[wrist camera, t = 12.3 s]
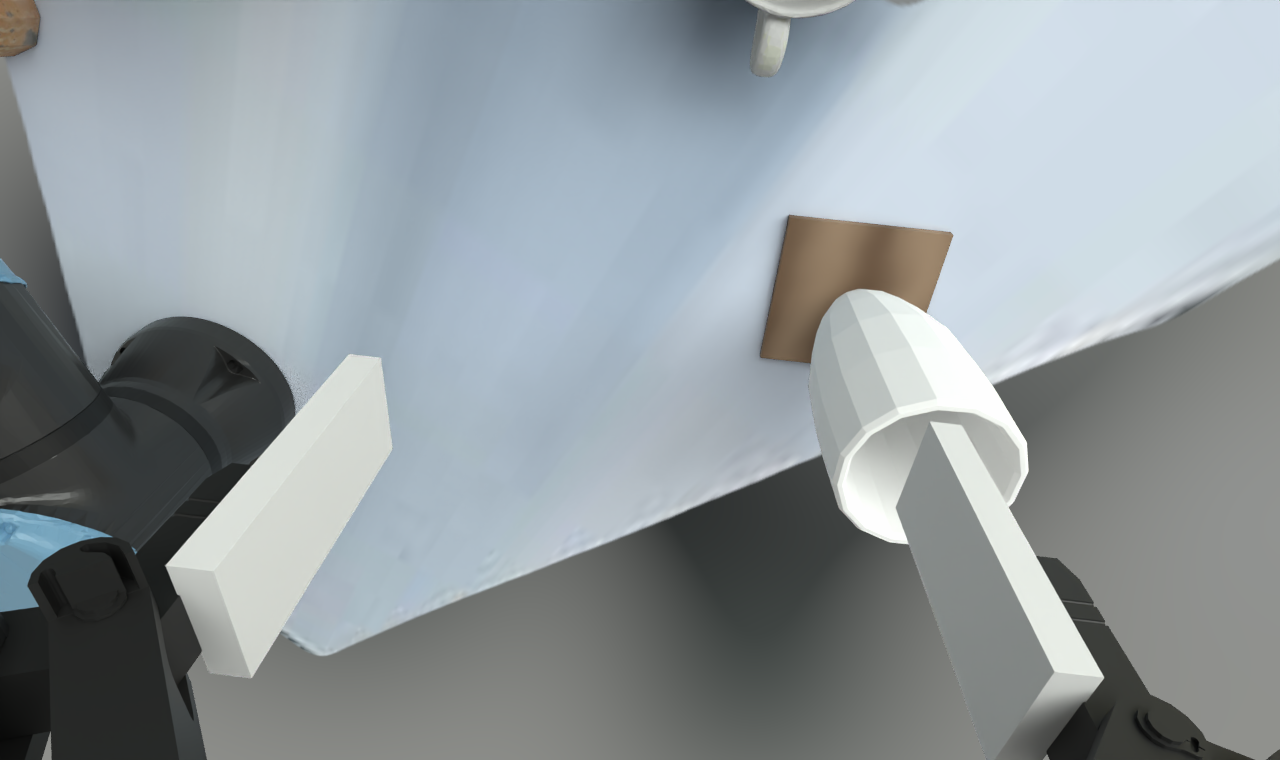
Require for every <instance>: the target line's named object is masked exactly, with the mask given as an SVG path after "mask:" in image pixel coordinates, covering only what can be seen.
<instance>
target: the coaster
mask: <svg viewBox="0 0 1280 760" xmlns="http://www.w3.org/2000/svg"><path fill="white" fill-rule="evenodd" d="M952 237H953V234H952V233H951V232H943V231H934V230H924V229H915V228H906V227H896V226H887V225H878V224H868V223H859V222H850V221H840V220H831V219H822V218H812V217H803V216H794V215H789V218H788V223H787V228H786V232H785V237H784V242H783V247H782V252H781V256H780V261H779V266H778V271H777V276H776V280H775V285H774V290H773V295H772V299H771V304H770V309H769V314H768V319H767V323H766V328H765V333H764V338H763V343H762V347H761V352H760V357H761V358H768V359H777V360H786V361H795V362H805V363H811V358H812V351H813V347H814V342H815V338H816V333H817V331H818V328H819V325H820V323H821V320H822V318H823V316H824V315H825V313H826V312H827V311H828V309H829V308H830V306H831V305H832V304H833V302H834V301H835V300H836V299H837V298H838V297H840V296H841V295H843V294H844V293H846V292H849V291H852V290H856V289H867V290H877V291H883V292H886V293H888V294H891V295H894V296H896V297H899V298H901V299H902V300H904V301H906V302H908V303H910V304H912V305H914V306H916V307H918V308H919V309H921V310H922V311H924V312H925V313H926V312H927V309H928V306H929V303H930V301H931V298H932V295H933V292H934V289H935V286H936V283H937V280H938V278H939V275H940V272H941V269H942V266H943V263H944V260H945V257H946V255H947V252H948V249H949V246H950V243H951V240H952Z"/></svg>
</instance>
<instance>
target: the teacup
mask: <svg viewBox="0 0 1280 760" xmlns="http://www.w3.org/2000/svg"><path fill="white" fill-rule="evenodd" d="M745 1H746V2H748V3H749V4H751V5H752V6H754V7H756V8H758V15H757V21H756V27H755V33H754V39H753V44H752V50H751V57H750V69H751V72H752V73H753V74H755V75H756V76H760V77H772V76H774V75H776V73H777V72H778V70H779V68H780V66H781V63H782V60H783V57H784V53H785V50H786V46H787V41H788V35H789V30H790V21H791V18H809V17H816V16H821V15H825V14H828V13H831V12H834V11H836V10H838V9H841V8H843V7H846V6H847V5H849V4H850V3H852V2H853V1H855V0H745Z"/></svg>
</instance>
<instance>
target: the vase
mask: <svg viewBox="0 0 1280 760" xmlns="http://www.w3.org/2000/svg"><path fill="white" fill-rule="evenodd" d="M39 22H40V15H39V13H38V10H37V7H36V5H35V2H34V0H0V57H5V56H15V55H17V54H19V53H21V52H23V51H25V50H27V49H30V48H32V47H34V46H36V43H37V36H38V29H39Z"/></svg>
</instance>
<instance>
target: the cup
mask: <svg viewBox="0 0 1280 760" xmlns="http://www.w3.org/2000/svg"><path fill="white" fill-rule="evenodd" d="M808 388H809V394H810V400H811V406H812V412H813V418H814V424H815V429H816V433H817V437H818V441H819V445H820V449H821V452H822V456H823V459H824V462H825V465H826V469H827V472H828V475H829V478H830V481H831V485H832V488H833V491H834V494H835V497H836V501H837V504H838V507H839V509H840V510H841V511H842V512H843V513H844V514H845V515H846V516H847V517H848V518H849V519H850V520H851V521H852V523H854V525H855V526H856V527H857V528H858V529H861V530H862V531H865V532H867V533H869V534H872V535H874V536H876V537H878V538H881V539H883V540H886V541H888V542H891V543H902V544H908V541H907V538H906V535H905V533H904V530H903V527H902V524H901V521H900V519H899V516H898V513H897V510H896V505H897V503H898V500H899V498H900V495H901V492H902V490H903V487H904V485H905V482H906V480H907V477H908V475H909V472H910V470H911V467H912V465H913V462H914V460H915V457H916V455H917V452H918V449H919V447H920V444H921V442H922V439H923V437H924V434H925V432H926V429H927V427H928V424H929V422H930V421H931V422H939V423H948V424H957V425H962V426H963V428H964V430H965V431H966V433H967V435H968V437H969V439H970V440H971V442H972V444H973V446H974V447H975V449H976V451H977V453H978V455H979V456H980V458H981V460H982V462H983V463H984V465H985V467H986V469H987V470H988V472H989V474H990V476H991V478H992V479H993V481H994V483H995V485H996V486H997V488H998V490H999V492H1000V494H1001V495H1002V497H1003V499H1004V501H1005V502H1006V504H1007V506H1008V507H1009V506H1010V505H1011V504H1012V503H1013V502H1014V500H1015V498H1016V496H1017V494H1018V492H1019V490H1020V488H1021V486H1022V484H1023V482H1024V479H1025V477H1026V475H1027V473H1028V456H1027V442H1026V441H1025V439H1024V437H1023V436H1022V434H1021V432H1020V431H1019V429H1018V427H1017V426H1016V424H1015V422H1014V421H1013V419H1012V417H1011V416H1010V414H1009V412H1008V411H1007V409H1006V407H1005V406H1004V404H1003V402H1002V400H1001V399H1000V397H999V395H998V394H997V392H996V391H995V389H994V387H993V386H992V385H991V383H990V382H989V380H988V379H987V378H986V376H985V375H984V373H983V372H982V371H981V369H980V368H979V367H978V365H977V364H976V363H975V361H974V360H973V359H972V358H971V356H970V355H969V354H968V353H967V351H966V350H965V349H964V348H963V347H962V345H961V344H960V343H959V342H958V340H957V339H956V338H955V337H954V335H953V334H952V333H951V332H950V330H949V329H948V328H946V327H945V326H944V325H942V324H941V323H939V322H938V321H936V320H935V319H934V318H932V317H931V316H929V315H928V314H926V313H925V312H924V311H922V310H921V309H919V308H918V307H916V306H914V305H912V304H910V303H908V302H906V301H904V300H902V299H901V298H899V297H896V296H894V295H891V294H888V293H886V292H883V291H877V290H867V289H856V290H852V291H849V292H846V293H844V294H843V295H841V296H840V297H838V298H837V299H836V300H835V301H834V302H833V304H832V305H831V306H830V308H829V309H828V311H827V312H826V313H825V315H824V316H823V318H822V320H821V323H820V325H819V328H818V331H817V333H816V338H815V342H814V347H813V351H812V358H811V367H810V376H809V385H808Z"/></svg>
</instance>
